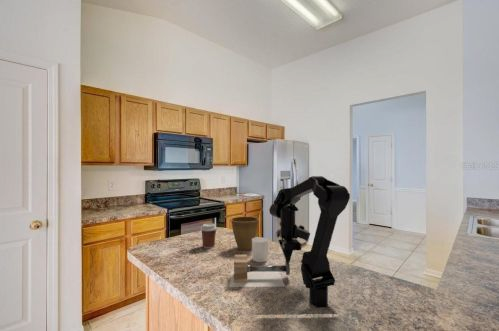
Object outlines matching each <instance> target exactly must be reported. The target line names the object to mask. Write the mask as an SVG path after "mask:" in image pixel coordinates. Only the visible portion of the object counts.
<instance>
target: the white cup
mask: <svg viewBox="0 0 499 331" xmlns="http://www.w3.org/2000/svg"><path fill="white" fill-rule="evenodd" d="M251 251H252V252H251V253H252V254H251V255H252V260H253V262H257V263H264V262H266V261H268V255H269V239H268V238H267V237H262V236H261V237H260V236H259V237H258V236H256V237H255V238H253V239H252V249H251Z"/></svg>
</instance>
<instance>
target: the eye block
mask: <svg viewBox="0 0 499 331" xmlns="http://www.w3.org/2000/svg"><path fill="white" fill-rule="evenodd" d="M247 265H248V254H234V259H233V270H234V283H247Z"/></svg>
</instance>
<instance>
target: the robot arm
mask: <svg viewBox="0 0 499 331" xmlns="http://www.w3.org/2000/svg"><path fill="white" fill-rule="evenodd" d="M310 193H312V194H313V196H315V197H316V198H317V204H318V207H319V209H320V213H319V218H318V221H317V225H316V229H315V234H314V237H313V242H312V245H311V249H310V250H308V251H304V252H303V253H302V258H301V260H300V263H301V264H300V266H301V267H300V271H301V276H302V281H303V282H302V283H303V284H304V285H305V288H306V289H308V290H309V291H308V292H309V293H308V295H309V296H308V298H309V300H308V301H309V303H310V304H311V305H313V306H314V307H315V308H317V309H318V308H319V309H320V308H322V309H323V308H324V309H325V308H328V304H329V299H328V298H329V287H330V286H334V285H335V283H336V279H335V277H334V275H333V273H332V271H331V268H330V269H329V265H330V262H329V258H328V256H327V255H328V252H329V248H330V245H331V242H332V238H333V235H334V230H335V227H336V223H337V219H338V217H339V216H340V215H341V213H342V212H344V211H345V210H346V208H347V206H348V203H349V201H350V199H351V195H350V193H349V191H348V189H347V187H345V186H344V185H340V184H338V183H337V182H334V181H332V180H329V179H327V178H326V177H325V176H321V175H312V176H310V177H308V178H307V179H305V180H304V181H302V182H300V183H298V184H296V185H295V186H293V187H289V188H281V189H279V191H278V192H277V194H276V197H275V198H274V201H273V203H272V204H271V205H270V206H269V214H270V215H271V216H272V217H275V218H277V219H280V222H279V227H280V229H277V231H276V233H275V234H276V235H275V236H276V237H277V238H280V239H277V240H278V244H279V246H280V248H281V251H282V254H283V256H284V260H285V259H286V261H287V262H290V263H291V258H292V255H293V251H301V250H302V243H301V242H300V241H299V240H298V239H301V240H303V241H305V242H308V241H309V239H310V236H311V232H309V231H308V230H307V229H305V226H304V225H302V224H300V225H299V226H298V225H297V224H296V212H297V211H299V208H298V207H297V206H296V204H297V203H298V202H299V201H300V200H301V198H303V197H304V196H307V195H308V194H310Z"/></svg>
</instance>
